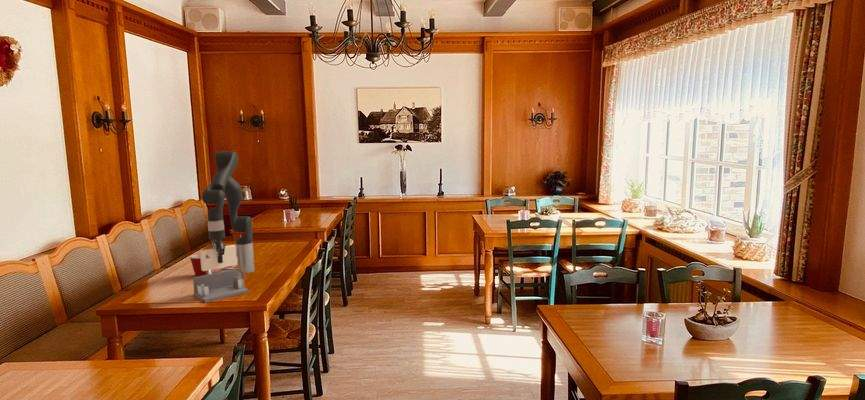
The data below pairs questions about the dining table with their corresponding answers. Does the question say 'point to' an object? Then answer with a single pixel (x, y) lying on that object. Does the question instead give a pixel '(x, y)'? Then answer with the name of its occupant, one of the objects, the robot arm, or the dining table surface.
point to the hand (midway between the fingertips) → (219, 262)
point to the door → (211, 259)
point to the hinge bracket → (218, 286)
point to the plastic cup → (197, 265)
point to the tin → (239, 271)
